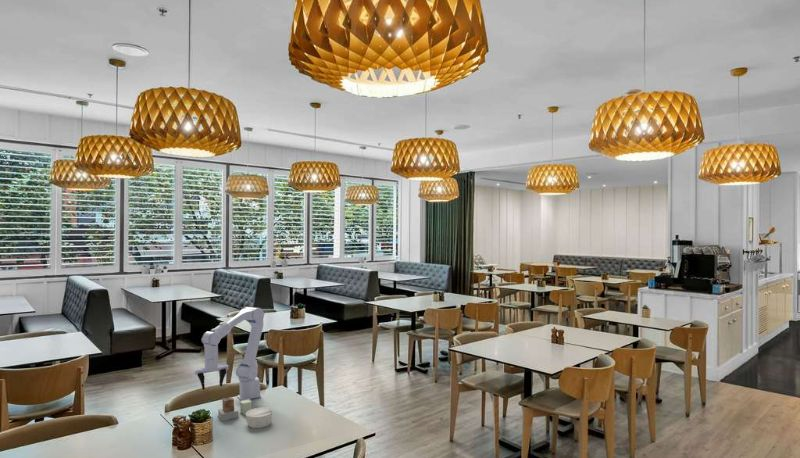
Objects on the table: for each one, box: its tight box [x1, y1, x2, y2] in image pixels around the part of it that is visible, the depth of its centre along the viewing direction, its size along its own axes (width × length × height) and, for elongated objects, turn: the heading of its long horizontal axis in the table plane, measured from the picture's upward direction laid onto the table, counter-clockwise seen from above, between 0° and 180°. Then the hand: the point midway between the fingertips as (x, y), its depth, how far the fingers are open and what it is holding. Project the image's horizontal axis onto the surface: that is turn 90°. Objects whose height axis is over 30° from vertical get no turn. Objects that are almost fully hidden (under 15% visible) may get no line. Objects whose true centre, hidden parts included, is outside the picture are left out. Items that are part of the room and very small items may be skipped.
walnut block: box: [221, 396, 235, 412], centre depth 218 cm, size 4×4×5 cm
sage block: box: [239, 399, 253, 416], centre depth 223 cm, size 4×4×5 cm
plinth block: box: [217, 405, 240, 422], centre depth 218 cm, size 7×7×3 cm
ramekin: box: [245, 406, 274, 429], centre depth 209 cm, size 11×11×5 cm
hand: (212, 387), depth 227 cm, fingers open, 7 cm apart
